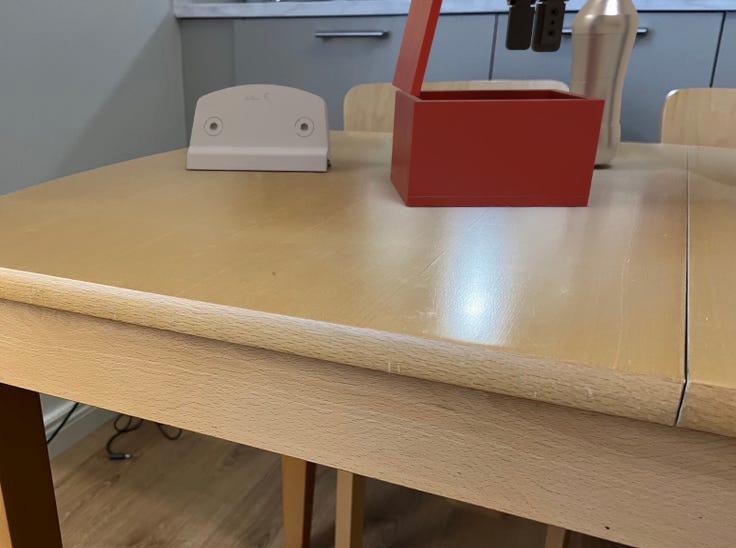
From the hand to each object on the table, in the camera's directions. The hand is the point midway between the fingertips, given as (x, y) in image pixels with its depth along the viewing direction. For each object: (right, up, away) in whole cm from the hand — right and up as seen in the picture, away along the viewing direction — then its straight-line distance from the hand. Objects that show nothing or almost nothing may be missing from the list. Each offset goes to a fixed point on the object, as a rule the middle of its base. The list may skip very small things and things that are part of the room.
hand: (530, 51), depth 67 cm
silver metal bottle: (+13, -6, +18) cm, 23 cm away
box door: (-9, +5, -2) cm, 10 cm away
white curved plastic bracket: (-24, -5, +21) cm, 32 cm away
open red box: (-3, -11, +5) cm, 13 cm away
